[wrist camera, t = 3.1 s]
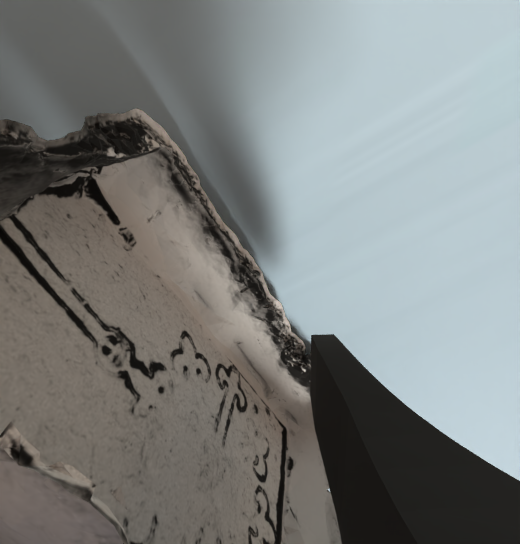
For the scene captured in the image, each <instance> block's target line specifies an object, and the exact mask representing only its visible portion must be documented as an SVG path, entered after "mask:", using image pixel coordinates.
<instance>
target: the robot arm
mask: <svg viewBox="0 0 520 544" xmlns="http://www.w3.org/2000/svg"><path fill="white" fill-rule="evenodd" d="M310 398H311V406H312V413H313V420H314V428H315V432H316V436H317V440H318V444H319V448H320V452H321V456H322V460H323V464H324V468H325V472H326V476H327V480H328V484H329V488H330V492H331V496H332V500H333V504H334V508H335V512H336V516H337V521H338V526H339V531H340V536H341V542H342V544H520V481H519V480H517V479H515V478H513V477H512V476H510V475H508V474H507V473H505V472H503V471H501V470H500V469H498V468H496V467H495V466H493V465H491V464H490V463H488V462H486V461H485V460H483V459H482V458H480V457H479V456H477V455H475V454H474V453H472V452H471V451H469V450H467V449H466V448H464V447H463V446H461V445H460V444H458V443H457V442H455V441H454V440H452V439H451V438H449V437H448V436H446V435H445V434H443V433H442V432H441V431H439V430H438V429H437V428H435V427H434V426H432V425H431V424H430V423H428V422H427V421H426V420H424V419H423V418H422V417H420V416H419V415H418V414H416V413H415V412H414V411H412V410H411V409H410V408H409V407H407V406H406V405H405V404H404V403H403V402H402V401H400V400H399V399H398V398H397V397H396V396H395V395H393V394H392V393H391V392H390V391H389V390H388V389H387V388H385V387H384V386H383V385H382V384H381V383H380V382H379V381H378V380H377V379H376V378H375V377H374V376H373V375H372V374H371V373H370V372H369V371H368V370H367V369H366V368H365V367H364V366H363V365H362V364H361V363H360V362H359V361H358V360H357V359H356V358H355V357H354V356H353V355H352V354H351V353H350V351H349V350H348V349H347V348H346V347H345V346H344V345H343V344H342V343H341V342H340V341H339V339H338V338H337V337H336V336H335V335H334V334H333V335H311V374H310Z"/></svg>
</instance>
